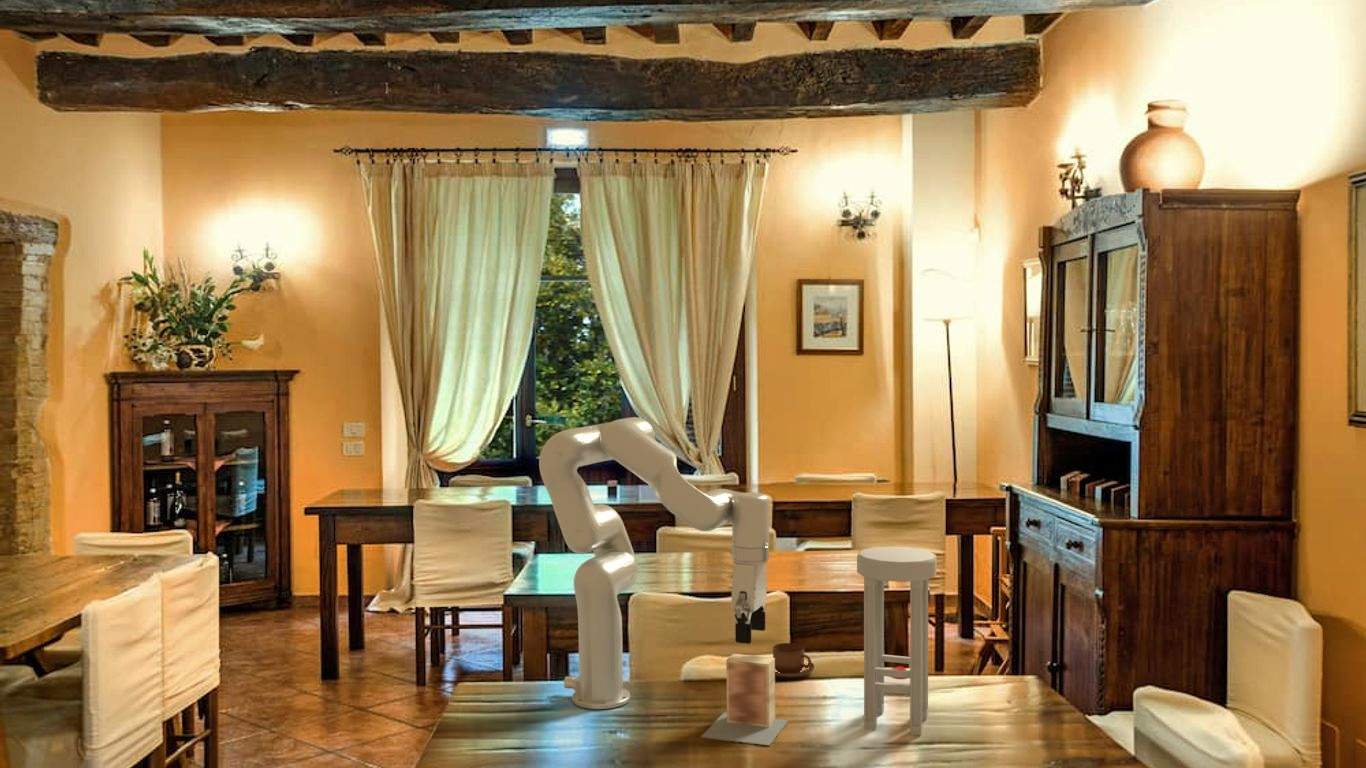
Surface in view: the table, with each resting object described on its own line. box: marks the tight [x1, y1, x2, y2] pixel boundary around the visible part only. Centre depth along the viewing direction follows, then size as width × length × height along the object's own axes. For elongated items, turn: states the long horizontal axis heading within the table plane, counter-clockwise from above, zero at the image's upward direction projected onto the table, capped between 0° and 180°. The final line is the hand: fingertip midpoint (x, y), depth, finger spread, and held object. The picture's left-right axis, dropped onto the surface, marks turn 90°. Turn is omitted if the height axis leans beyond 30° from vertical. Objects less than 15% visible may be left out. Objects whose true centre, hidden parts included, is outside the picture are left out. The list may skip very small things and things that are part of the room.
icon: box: [884, 665, 910, 696], centre depth 243 cm, size 12×4×10 cm
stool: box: [856, 545, 938, 737], centre depth 219 cm, size 16×16×35 cm
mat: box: [701, 711, 789, 746], centre depth 217 cm, size 14×14×1 cm
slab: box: [726, 653, 776, 727], centre depth 221 cm, size 9×4×13 cm, turn 69°
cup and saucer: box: [772, 642, 815, 678], centre depth 253 cm, size 12×12×6 cm
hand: (750, 636), depth 220 cm, fingers open, 9 cm apart
